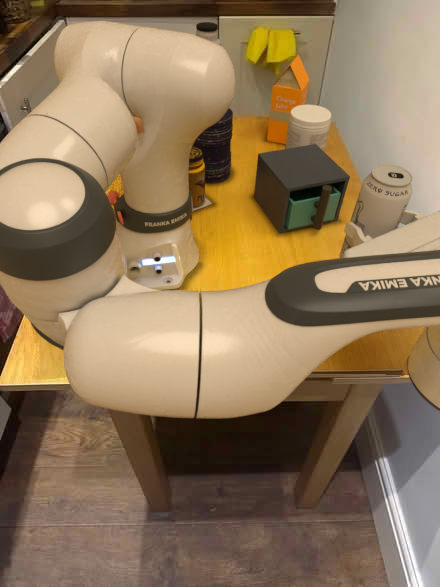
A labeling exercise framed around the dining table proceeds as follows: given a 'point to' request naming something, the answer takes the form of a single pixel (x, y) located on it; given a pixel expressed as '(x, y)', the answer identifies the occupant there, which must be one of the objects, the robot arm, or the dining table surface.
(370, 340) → the dining table surface
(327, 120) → the supplement tub
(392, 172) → the energy drink can
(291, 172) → the small drawer cabinet
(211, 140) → the storage jar
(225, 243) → the dining table surface
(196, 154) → the condiment
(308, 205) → the cabinet drawer
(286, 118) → the orange juice
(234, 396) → the robot arm
